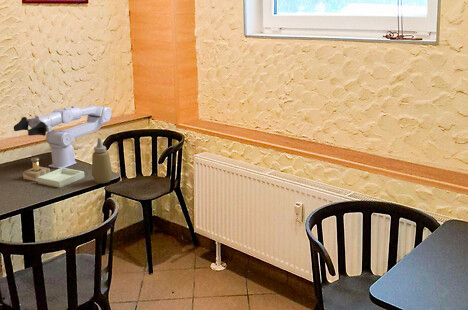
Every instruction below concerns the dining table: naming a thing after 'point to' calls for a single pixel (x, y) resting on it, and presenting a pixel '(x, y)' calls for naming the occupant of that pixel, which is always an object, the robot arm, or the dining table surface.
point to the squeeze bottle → (101, 164)
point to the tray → (60, 177)
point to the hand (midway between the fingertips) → (21, 130)
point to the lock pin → (35, 164)
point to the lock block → (35, 173)
